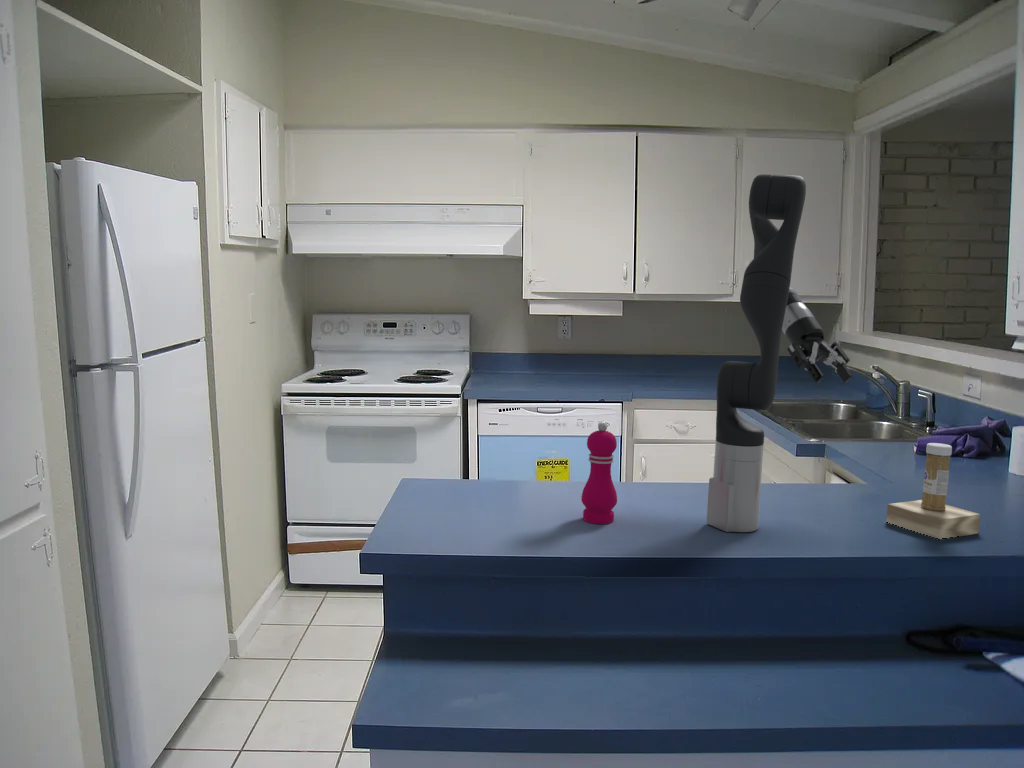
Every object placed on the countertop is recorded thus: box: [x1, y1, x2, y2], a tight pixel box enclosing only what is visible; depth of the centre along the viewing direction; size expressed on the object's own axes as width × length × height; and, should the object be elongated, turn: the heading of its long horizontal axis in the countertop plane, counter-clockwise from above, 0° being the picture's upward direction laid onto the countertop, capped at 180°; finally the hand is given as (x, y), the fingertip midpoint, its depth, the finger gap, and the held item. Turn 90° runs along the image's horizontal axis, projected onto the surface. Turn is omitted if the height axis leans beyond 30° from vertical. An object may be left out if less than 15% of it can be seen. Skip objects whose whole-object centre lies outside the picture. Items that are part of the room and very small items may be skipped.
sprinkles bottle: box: [921, 442, 953, 511], centre depth 157 cm, size 5×5×14 cm
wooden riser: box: [885, 499, 981, 540], centre depth 158 cm, size 12×12×4 cm
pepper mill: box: [580, 422, 618, 525], centre depth 155 cm, size 7×7×20 cm
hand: (834, 380), depth 171 cm, fingers open, 8 cm apart
